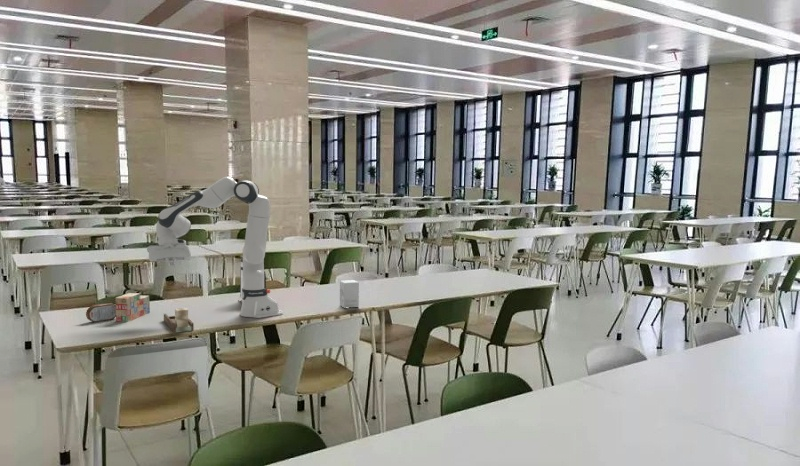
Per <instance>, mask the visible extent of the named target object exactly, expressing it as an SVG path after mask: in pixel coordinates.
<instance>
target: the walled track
mask: <svg viewBox="0 0 800 466" xmlns="http://www.w3.org/2000/svg"><path fill="white" fill-rule="evenodd" d="M163 321H164V323H165V324H166V325H167V327H168V328H169V329H170V330H171V331H172V332H173V333H180V332H190V331H194V330H195V327H194V324H195V323H194V322H193V321H192V319H191V320H190V318H189V317H188V326H187V327H176V324H175V315H171V316H168V314H167V313H163Z"/></svg>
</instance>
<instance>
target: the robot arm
mask: <svg viewBox="0 0 800 466" xmlns="http://www.w3.org/2000/svg"><path fill="white" fill-rule="evenodd" d="M259 192H260V188H259V187H258V185H257V184H256V183H255V182H254V181H252V180H247V179H246V180H245V179H243V180H240V181H238V182H237V181H236V180H235V179H234V178H232V177H230V176H224V177H222V178H220V179H218V180H217V181H215V182H214V183H212V184H211V185H210V186H209V187H207V188H205V189H203V190H199V191H194V192H192V193H190V194H189V195H187V196H185V197H184V198H182V199H180V200H179V201H177V202H175V203H174V204H172V205H170V206H168V207H165V208H163V209H162V210H160V212H159V214H158V217H157V218H158V219H157V220H158V221H157V222H156V226H155V229H156V231H155V232H156V237H157V238H158V239H157V244H155V245H154V244H153V245H152V244H151V245H149V246H147V247H146V251H147V253H148V261H150V262H153V263H154V262H165V263H166V265H167V266H168V268H175V267H176V262H177V261H189V260H190V259H191V255H192V254H191V250H190V247H189V245H187V241H186V240H184V239H181V237H183V236H185V235H187V234H189V232H190V231H191V229H192V228H191V227H192V222H191V221H190V220H189V219H188V218H187V217H185V216H183V215H182V213H185V212H186V211H188V210H189V209H192V208H193V207H203V208H208V209H217V208H219V207H220V206H222V205H224V204H225V202H227V201H228V200H230V199H231V198H233V197H235V198H237V199H238V200H239V201H240V202H244V203H245V204H247V205H248V213H247V214H248V215H247V221H246V228H245V229H246V230H245V237H244V245H243V248H242V257H243V288H242V299H243V300H242V299H241V300H242V301H241V307H240V313H239V316H241V317H244V318H245V317H246V318H257V319H261V318H268V317H274V316H279V315H283V314H284V312H283V310H281V309H279V304H278V302H277V300H275V299H274V298H272V297H271V296H270V295H268V294H270V293H272V292H271V290H270V289H267V287H266V288H264V271H265V265H264V262H265V260H264V259H265V257H266V250H267V249H266V248H267V238H268V230H269V224H270V217H271V216H270V215H271V202H270V199H269V198H268V197H266V196H265V195H261V194H260V193H259ZM179 238H180V239H179Z"/></svg>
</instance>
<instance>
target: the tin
mask: <svg viewBox="0 0 800 466" xmlns="http://www.w3.org/2000/svg"><path fill="white" fill-rule="evenodd" d="M85 316H86V319H87V320H88V321H90V322H93V323H97V322H102V321H109V320H110V321H111V320H113V319H116V304H114V303H112V302H107V303H100V304H99V303H98V304H92V305H90V306H89V307H88V308H87V310H86V312H85Z"/></svg>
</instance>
